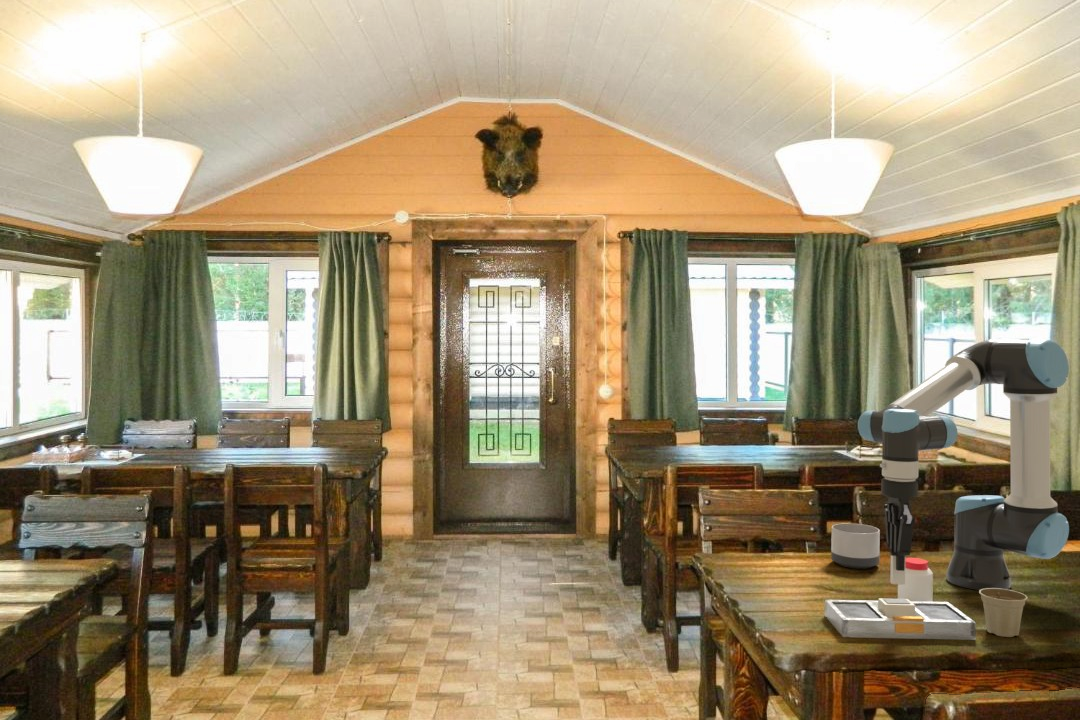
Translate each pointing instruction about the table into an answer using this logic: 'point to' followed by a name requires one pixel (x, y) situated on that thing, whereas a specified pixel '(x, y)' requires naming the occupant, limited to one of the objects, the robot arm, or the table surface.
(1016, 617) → the flower pot
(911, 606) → the white block
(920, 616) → the tray
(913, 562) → the pill bottle
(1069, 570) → the table surface
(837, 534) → the planter
